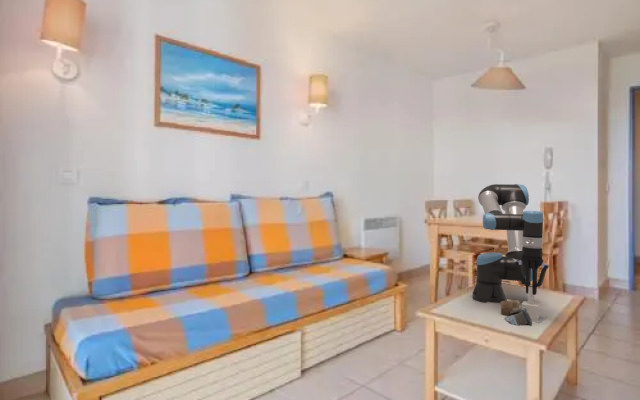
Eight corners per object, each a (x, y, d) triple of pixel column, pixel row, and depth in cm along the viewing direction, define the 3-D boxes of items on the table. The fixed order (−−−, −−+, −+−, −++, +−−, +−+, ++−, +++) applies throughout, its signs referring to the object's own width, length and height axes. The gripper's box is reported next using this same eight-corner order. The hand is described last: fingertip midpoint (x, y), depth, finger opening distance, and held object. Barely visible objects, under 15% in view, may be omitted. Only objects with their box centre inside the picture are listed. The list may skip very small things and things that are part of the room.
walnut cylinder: (499, 315, 163) (499, 302, 163) (503, 313, 166) (503, 300, 166) (510, 318, 160) (510, 304, 160) (513, 315, 163) (513, 302, 163)
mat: (513, 318, 159) (513, 317, 159) (521, 313, 166) (521, 311, 166) (539, 324, 152) (539, 323, 152) (547, 319, 159) (547, 317, 159)
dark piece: (495, 319, 160) (505, 306, 151) (508, 313, 162) (519, 300, 153) (511, 339, 154) (522, 327, 145) (524, 333, 156) (536, 320, 147)
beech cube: (506, 312, 167) (506, 301, 167) (506, 309, 172) (507, 299, 171) (518, 314, 165) (519, 303, 165) (518, 311, 169) (519, 300, 169)
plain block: (521, 317, 159) (521, 303, 158) (523, 314, 163) (523, 300, 163) (537, 320, 155) (538, 306, 155) (539, 316, 160) (539, 303, 160)
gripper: (512, 246, 161) (511, 300, 161) (546, 249, 151) (545, 306, 152) (518, 244, 166) (517, 296, 166) (552, 247, 156) (550, 303, 157)
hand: (530, 301), depth 159 cm, fingers closed
